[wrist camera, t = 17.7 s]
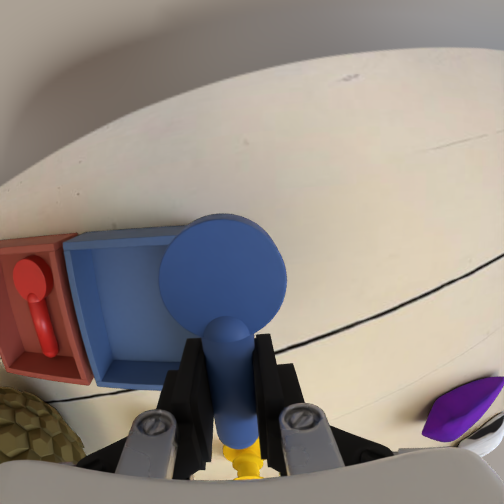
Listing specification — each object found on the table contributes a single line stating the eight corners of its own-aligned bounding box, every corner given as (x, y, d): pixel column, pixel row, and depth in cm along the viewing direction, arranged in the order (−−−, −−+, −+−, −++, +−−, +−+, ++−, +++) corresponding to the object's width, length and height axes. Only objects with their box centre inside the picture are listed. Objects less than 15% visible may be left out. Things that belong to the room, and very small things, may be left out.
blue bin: (85, 232, 23) (61, 242, 19) (207, 223, 23) (202, 233, 20) (111, 361, 26) (97, 386, 22) (219, 363, 26) (217, 391, 23)
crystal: (512, 398, 27) (429, 458, 25) (491, 382, 32) (409, 434, 30) (520, 372, 26) (435, 434, 24) (497, 356, 30) (412, 409, 29)
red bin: (-4, 240, 23) (-30, 250, 19) (77, 232, 23) (53, 243, 19) (25, 353, 26) (6, 372, 22) (104, 361, 26) (89, 385, 22)
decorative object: (105, 387, 27) (28, 553, 7) (112, 474, 30) (78, 593, 11) (-16, 337, 25) (-118, 433, 6) (10, 431, 29) (-47, 522, 9)
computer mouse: (502, 430, 34) (512, 442, 30) (417, 484, 35) (425, 500, 31) (509, 396, 32) (523, 409, 28) (416, 459, 33) (426, 477, 29)
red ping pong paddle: (73, 353, 25) (65, 363, 23) (41, 350, 25) (33, 359, 23) (49, 253, 23) (38, 259, 21) (17, 255, 23) (6, 260, 21)
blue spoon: (282, 425, 13) (288, 453, 11) (196, 430, 13) (193, 458, 11) (278, 209, 11) (287, 216, 9) (160, 217, 10) (146, 226, 9)
